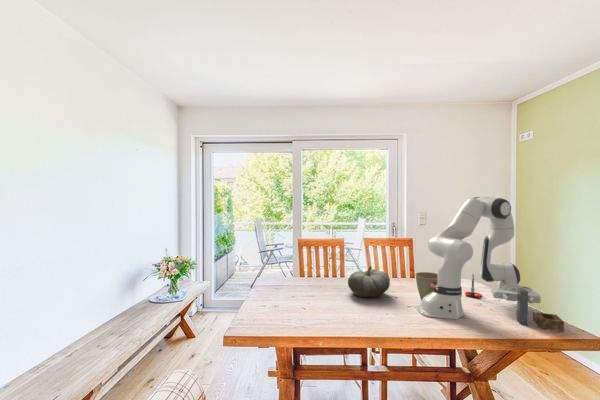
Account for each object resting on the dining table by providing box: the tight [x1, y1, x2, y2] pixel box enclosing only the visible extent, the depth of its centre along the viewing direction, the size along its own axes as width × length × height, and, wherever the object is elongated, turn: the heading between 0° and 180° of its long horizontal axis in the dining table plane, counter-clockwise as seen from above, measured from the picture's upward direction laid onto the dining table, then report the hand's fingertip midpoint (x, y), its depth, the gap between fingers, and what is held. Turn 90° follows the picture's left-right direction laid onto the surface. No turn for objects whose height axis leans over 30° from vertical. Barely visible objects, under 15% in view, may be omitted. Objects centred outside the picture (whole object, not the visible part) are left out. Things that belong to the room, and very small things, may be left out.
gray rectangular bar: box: [516, 288, 529, 326], centre depth 146 cm, size 3×5×16 cm, turn 157°
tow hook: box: [464, 273, 483, 299], centre depth 186 cm, size 9×14×10 cm
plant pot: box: [415, 271, 437, 302], centre depth 172 cm, size 15×15×16 cm
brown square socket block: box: [532, 311, 565, 332], centre depth 142 cm, size 9×9×4 cm
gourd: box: [347, 266, 391, 298], centre depth 186 cm, size 25×25×17 cm
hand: (519, 300), depth 149 cm, fingers open, 8 cm apart
